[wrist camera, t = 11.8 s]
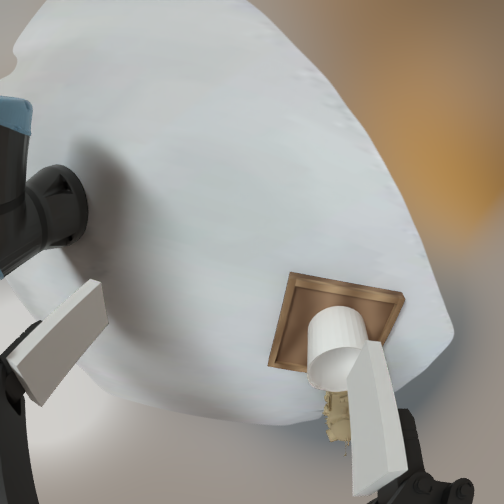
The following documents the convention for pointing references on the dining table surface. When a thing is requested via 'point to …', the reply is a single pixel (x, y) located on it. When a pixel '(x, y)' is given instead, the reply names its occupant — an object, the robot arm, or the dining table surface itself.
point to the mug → (334, 347)
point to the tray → (319, 298)
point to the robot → (338, 416)
